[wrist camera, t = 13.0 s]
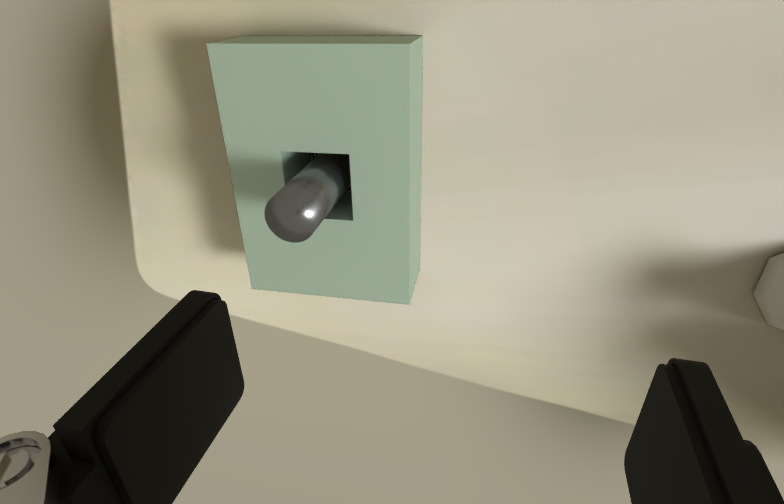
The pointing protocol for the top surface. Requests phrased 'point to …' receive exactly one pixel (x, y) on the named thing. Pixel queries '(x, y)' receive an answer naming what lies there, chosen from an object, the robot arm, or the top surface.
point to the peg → (308, 197)
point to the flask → (772, 292)
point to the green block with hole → (327, 135)
